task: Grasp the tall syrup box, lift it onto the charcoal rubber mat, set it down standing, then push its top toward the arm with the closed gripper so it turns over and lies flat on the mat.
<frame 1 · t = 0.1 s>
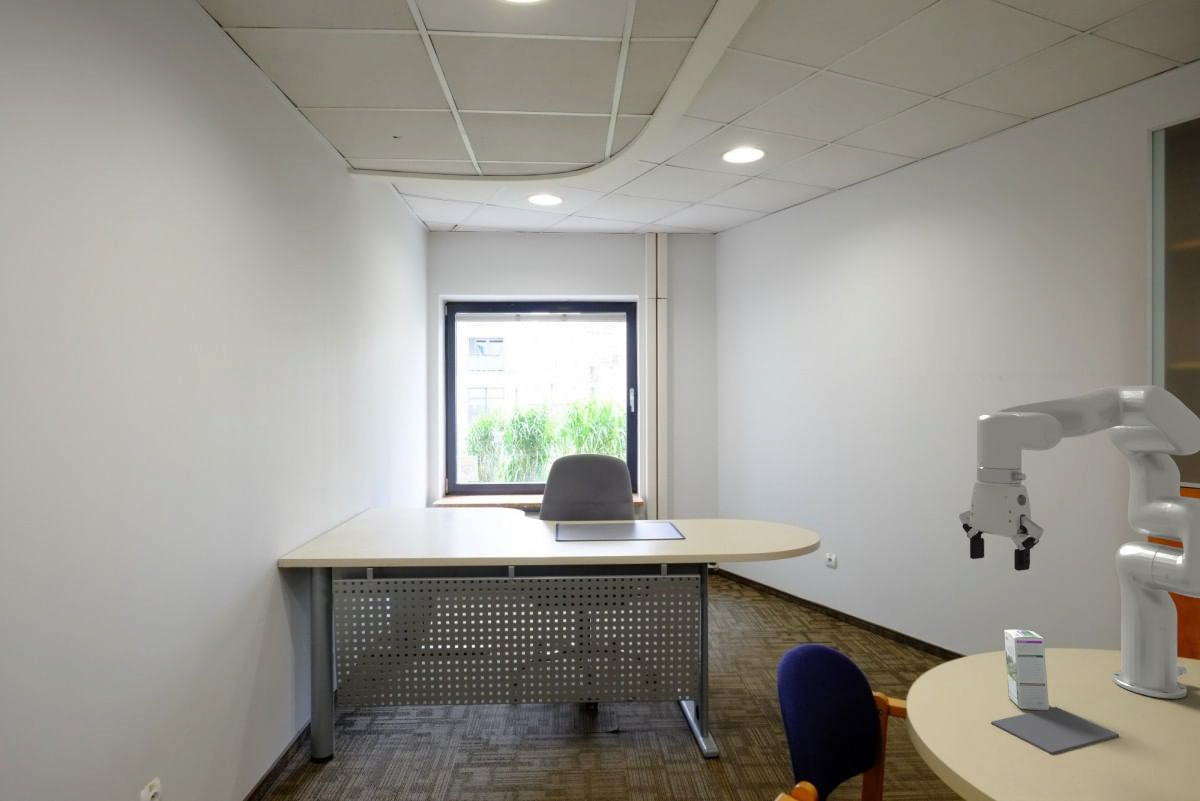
hand: (998, 563, 131), 31 cm above the table, fingers open, 9 cm apart
mat: (1053, 729, 128), on the table
syrup box: (1028, 705, 138), on the table, touching mat
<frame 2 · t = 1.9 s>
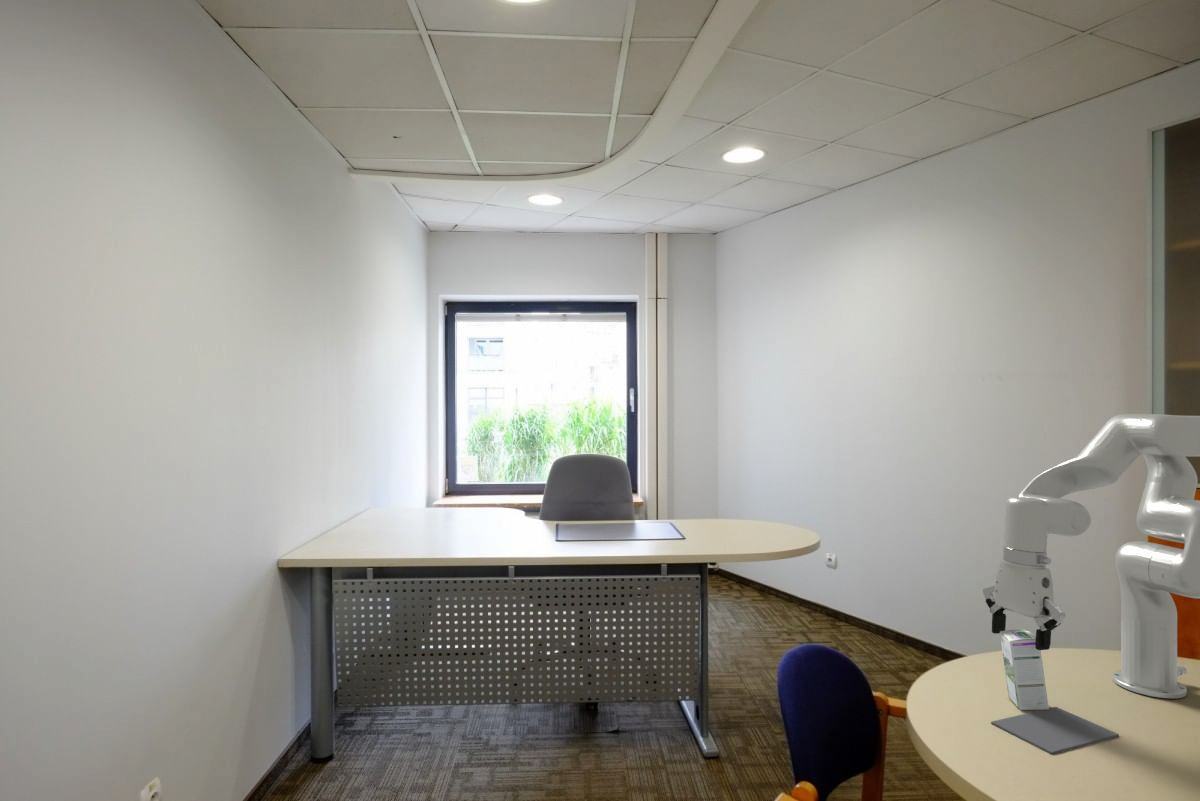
hand: (1019, 640, 138), 14 cm above the table, fingers open, 9 cm apart
syrup box: (1028, 704, 138), on the table
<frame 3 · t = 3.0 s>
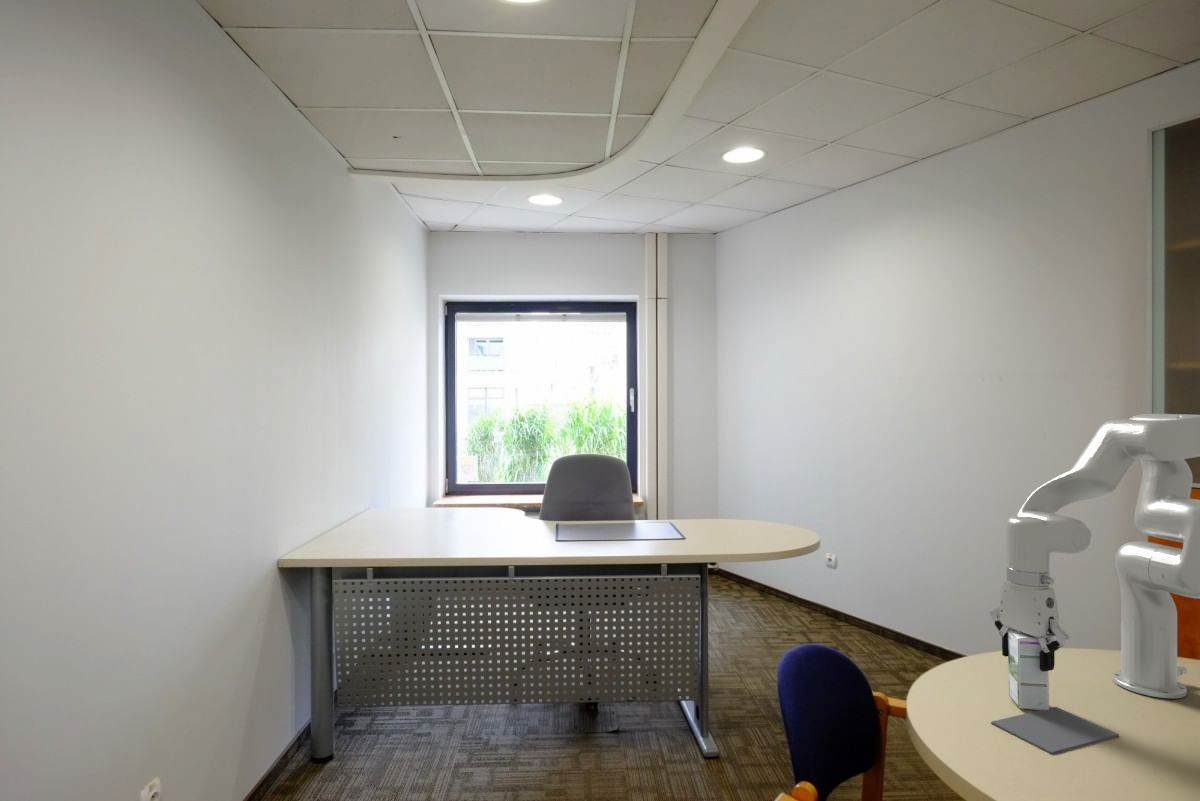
hand: (1027, 662, 138), 9 cm above the table, fingers closed on syrup box, 7 cm apart
syrup box: (1028, 704, 138), on the table, touching gripper, mat
when the fingers open (10 cm above the table, at t = 8.2 s): syrup box drops 1 cm, resting on mat.
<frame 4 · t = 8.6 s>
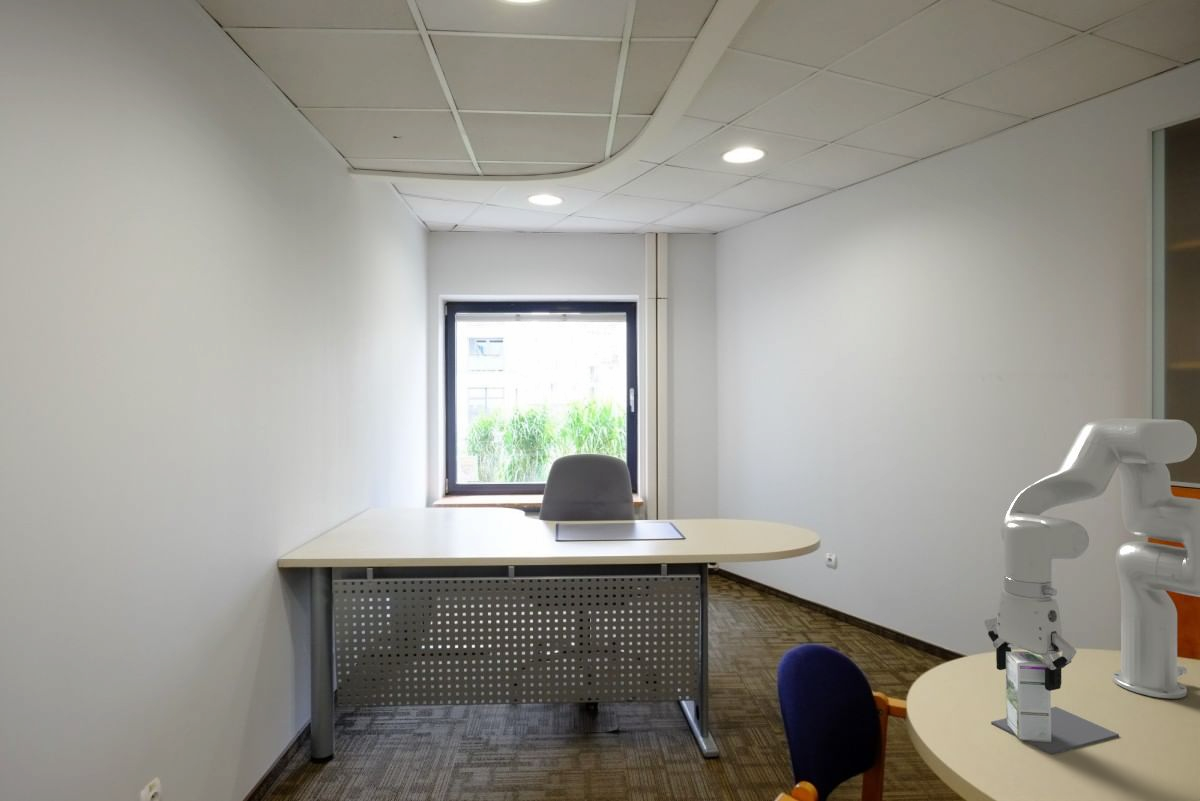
hand: (1027, 678, 126), 11 cm above the table, fingers open, 9 cm apart
syrup box: (1028, 734, 126), resting on mat
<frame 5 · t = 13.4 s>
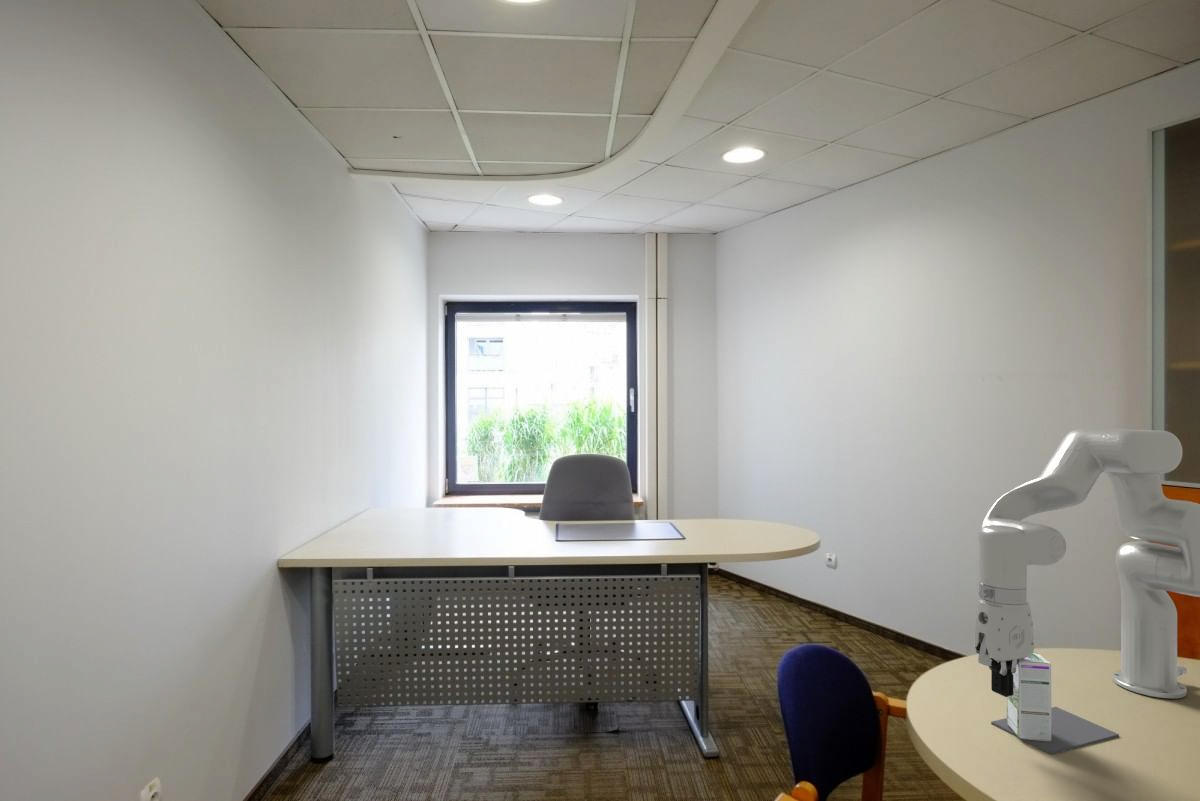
hand: (1002, 693, 123), 9 cm above the table, fingers closed
syrup box: (1028, 734, 126), resting on mat, touching gripper
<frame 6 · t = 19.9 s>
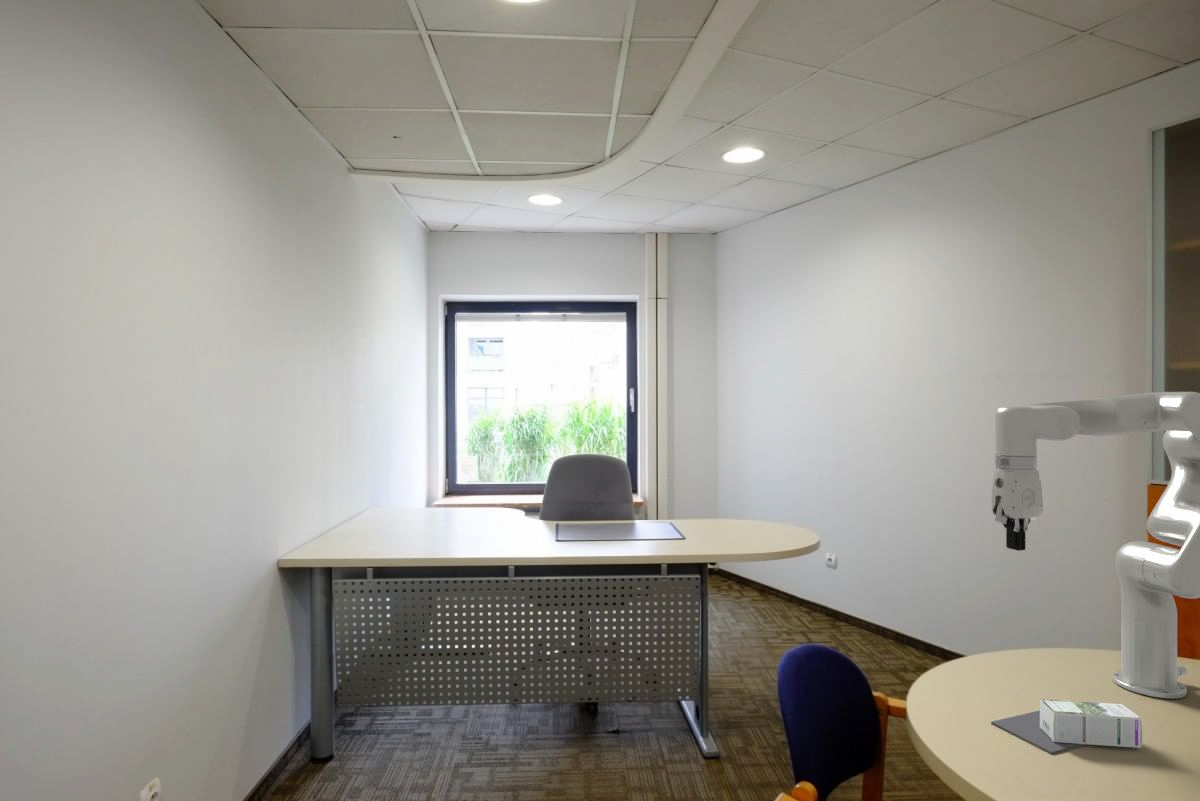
hand: (1015, 548, 144), 31 cm above the table, fingers closed
syrup box: (1045, 719, 125), point 3 cm above the table, touching mat
at the end: syrup box tilted 90°; syrup box inside the target area (5.5 cm from its centre), point 3.4 cm above the table; the gripper is holding nothing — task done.
